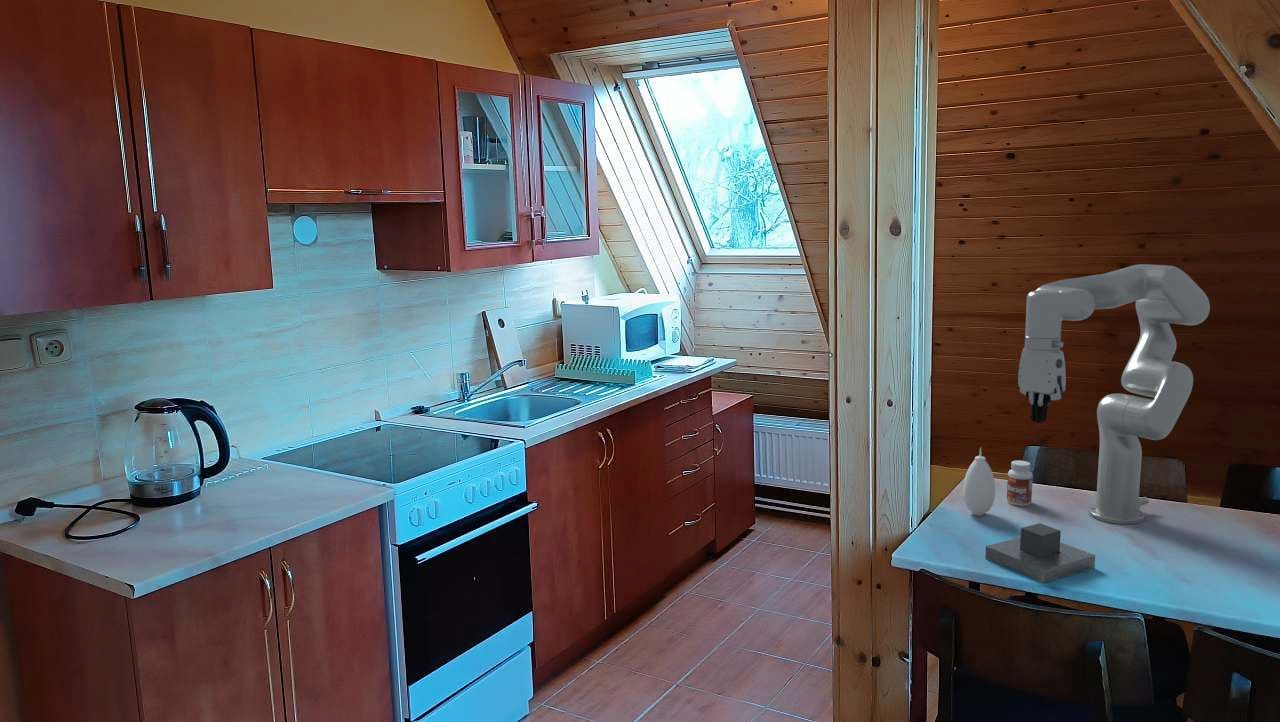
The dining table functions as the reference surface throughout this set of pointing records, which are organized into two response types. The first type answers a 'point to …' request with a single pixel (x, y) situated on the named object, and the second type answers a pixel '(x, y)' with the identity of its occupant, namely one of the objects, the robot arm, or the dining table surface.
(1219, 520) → the dining table surface
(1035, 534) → the plug
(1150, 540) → the dining table surface
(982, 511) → the air blower bulb
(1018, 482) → the pill bottle
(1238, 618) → the dining table surface
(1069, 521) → the dining table surface
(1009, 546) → the socket
